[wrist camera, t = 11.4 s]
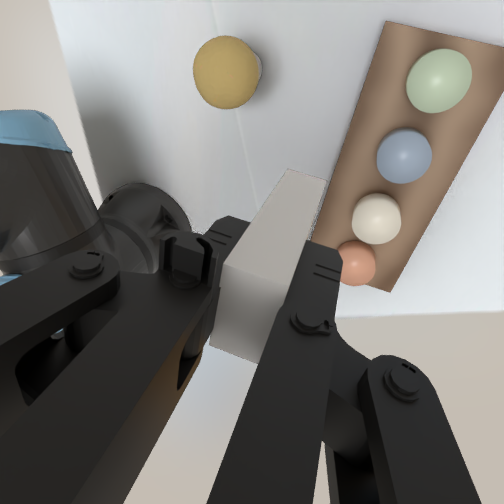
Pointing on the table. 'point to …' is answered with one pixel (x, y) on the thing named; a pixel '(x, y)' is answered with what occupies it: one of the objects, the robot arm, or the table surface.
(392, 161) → the slate button
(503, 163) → the table surface
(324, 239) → the button board
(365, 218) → the cream button
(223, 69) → the light bulb
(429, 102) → the sage button
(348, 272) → the terracotta button
